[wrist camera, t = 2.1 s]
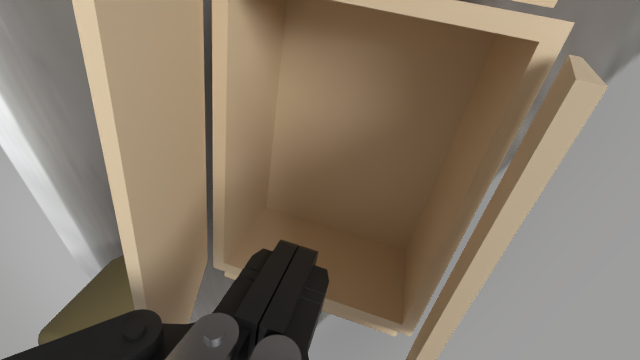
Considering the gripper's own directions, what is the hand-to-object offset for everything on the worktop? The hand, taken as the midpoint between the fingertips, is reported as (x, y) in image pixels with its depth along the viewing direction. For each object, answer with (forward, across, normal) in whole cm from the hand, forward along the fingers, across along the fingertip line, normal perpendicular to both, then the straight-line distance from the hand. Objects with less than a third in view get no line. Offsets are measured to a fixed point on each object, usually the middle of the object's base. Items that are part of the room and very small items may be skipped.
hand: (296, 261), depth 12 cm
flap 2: (+6, -8, 0) cm, 9 cm away
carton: (+14, 0, 0) cm, 14 cm away
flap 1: (+6, +8, 0) cm, 9 cm away
